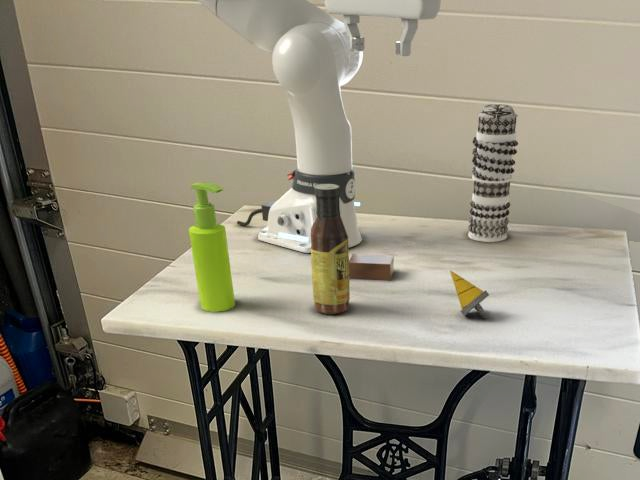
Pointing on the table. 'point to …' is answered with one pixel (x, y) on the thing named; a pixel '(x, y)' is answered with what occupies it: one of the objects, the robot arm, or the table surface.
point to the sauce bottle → (329, 253)
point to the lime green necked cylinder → (210, 253)
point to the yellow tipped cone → (469, 295)
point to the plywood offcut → (371, 266)
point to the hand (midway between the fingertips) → (379, 53)
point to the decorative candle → (492, 173)
